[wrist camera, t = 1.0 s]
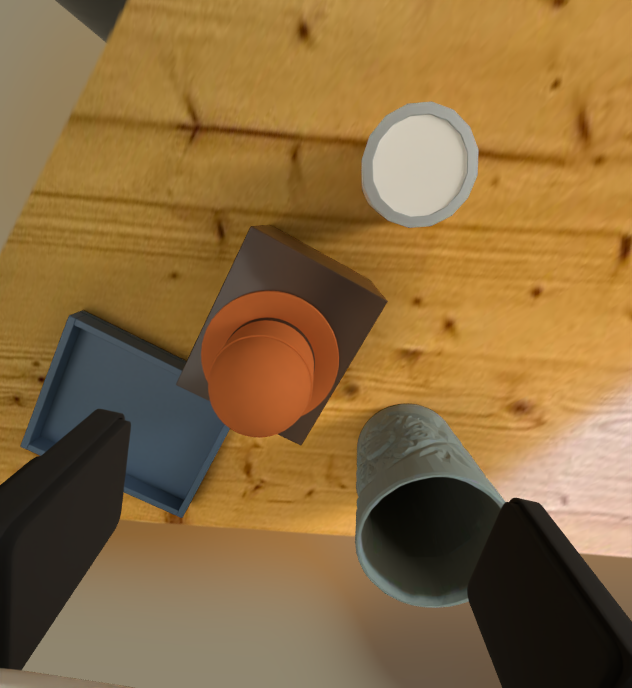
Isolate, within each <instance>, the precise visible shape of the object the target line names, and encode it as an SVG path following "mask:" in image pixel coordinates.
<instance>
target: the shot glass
mask: <svg viewBox="0 0 632 688" xmlns="http://www.w3.org/2000/svg"><path fill="white" fill-rule="evenodd" d="M477 174H478V148H477V145H476V142H475V139H474V137H473V134H472V131H471V128H470V126H469V125H468V124H467V123H466V122H465V121H464V120H463V119H462V118H461V117H460V116H459V115H458V114H457V113H456V112H455V111H454V110H452V109H450V108H447V107H445V106H442V105H439V104H437V103H434V102H422V103H411V104H406V105H405V106H403V107H401V108H399V109H397V110H396V111H394V112H392V113H390V114H388V115H386V116H385V118H384V119H383V120H382V121H381V122H380V124H379V125H378V126H377V127H376V129H375V130H374V131H373V132H372V134H371V135H370V137H369V140H368V143H367V146H366V149H365V152H364V155H363V158H362V172H361V175H362V191H363V193H364V195H365V198H366V200H367V202H368V204H369V205H370V206H371V207H372V208H373V209H374V210H376V211H377V212H378V213H379V214H380V215H381V216H383V217H384V218H386V219H387V220H388V221H391V222H394V223H397V224H400V225H403V226H405V227H408V228H412V227H425V226H432V225H434V224H436V223H438V222H440V221H442V220H444V219H446V218H448V217H450V216H452V215H453V214H454V213H455V211H456V210H457V209H458V208H459V207H460V206H461V205H462V204H463V203H464V202H465V201H466V199H467V198H468V197H469V194H470V192H471V189H472V187H473V184H474V182H475V180H476V177H477Z"/></svg>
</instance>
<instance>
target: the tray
mask: <svg viewBox="0 0 632 688" xmlns="http://www.w3.org/2000/svg"><path fill="white" fill-rule="evenodd" d="M186 362H187V361H185V360H183V359H181V358H179V357H177V356H175V355H173V354H171V353H169V352H167V351H165V350H163V349H161V348H159V347H157V346H155V345H153V344H151V343H149V342H146V341H144V340H142V339H140V338H138V337H136V336H134V335H132V334H130V333H128V332H126V331H124V330H122V329H120V328H118V327H116V326H114V325H112V324H110V323H108V322H106V321H104V320H102V319H100V318H98V317H96V316H94V315H92V314H90V313H88V312H86V311H84V310H82V311H80V312H77V313H74V314H72V315H69V317H68V320H67V322H66V325H65V328H64V330H63V333H62V336H61V338H60V341H59V344H58V346H57V349H56V352H55V355H54V357H53V360H52V363H51V365H50V368H49V371H48V373H47V376H46V379H45V381H44V384H43V387H42V389H41V392H40V395H39V398H38V400H37V403H36V406H35V408H34V411H33V414H32V416H31V419H30V422H29V424H28V427H27V430H26V433H25V435H24V438H23V441H22V443H21V447H22V448H25V449H27V450H29V451H31V452H34V453H36V454H38V455H40V456H41V455H42V454H44V453H45V452H46V451H47V450H48V449H50V448H51V447H52V446H53V445H54V444H56V443H57V442H58V441H59V440H60V439H62V438H63V437H64V436H65V435H66V434H67V433H69V432H70V431H71V430H72V429H73V428H75V427H76V426H77V425H78V424H79V423H81V422H82V421H83V420H84V419H85V418H87V417H88V416H89V415H90V414H91V413H92V412H94V411H95V410H96V409H104V410H109V411H114V412H118V413H123V414H124V416H125V420H126V421H130V422H131V432H130V440H129V449H128V457H127V466H126V475H125V483H124V493H127V494H129V495H131V496H133V497H136V498H138V499H140V500H142V501H145V502H147V503H149V504H151V505H154V506H156V507H158V508H161V509H163V510H165V511H167V512H170V513H172V514H174V515H176V516H178V517H181V518H183V516H184V514H185V512H186V510H187V508H188V506H189V504H190V503H191V501H192V499H193V497H194V495H195V493H196V491H197V489H198V488H199V486H200V484H201V482H202V480H203V478H204V476H205V475H206V473H207V471H208V469H209V467H210V465H211V463H212V461H213V460H214V458H215V456H216V454H217V452H218V450H219V448H220V446H221V445H222V443H223V441H224V439H225V437H226V435H227V433H228V431H229V430H230V428H229V427H227V426H226V425H225V424H224V423H223V422H222V421H221V420H220V419H219V417H218V416H217V415H216V413H215V411H214V409H213V407H212V405H211V402H210V401H208V400H206V399H204V398H202V397H200V396H198V395H196V394H194V393H191V392H189V391H187V390H185V389H183V388H181V387H179V386H177V385H176V383H177V381H178V379H179V376H180V374H181V372H182V370H183V368H184V366H185V364H186Z"/></svg>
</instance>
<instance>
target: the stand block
mask: <svg viewBox="0 0 632 688" xmlns="http://www.w3.org/2000/svg"><path fill="white" fill-rule="evenodd" d="M257 291H279V292H285V293H288V294H291V295H294V296H297V297H299V298H301V299H303V300H305V301H306V302H308V303H309V304H311V305H312V306H313V307H315V308H316V309H317V310H318V311H319V312H320V313H321V314H322V315H323V316H324V318H325V319H326V320H327V322H328V323H329V325H330V327H331V329H332V330H333V333H334V335H335V338H336V341H337V346H338V352H339V367H338V372H337V377H336V379H335V382H334V385H333V387H332V389H331V391H330V392H329V393H328V395H327V396H326V398H325V399H324V400H323V401H322V402H321V403H320V404H319V405H318V406H317V407H316V408H314V409H313V410H312V411H310V412H308V413H307V414H305V415H303V416H301V417H300V418H299V419H298V420H297V421H296V422H295V423H294V424H293V425H292V426H290V427H289V428H288V429H286V430H285V431H283V432H281V433H278V435H280V436H282V437H284V438H286V439H288V440H291V441H293V442H295V443H297V444H299V445H302V444H303V442H304V440H305V439H306V437H307V435H308V433H309V432H310V430H311V428H312V427H313V425H314V423H315V422H316V420H317V418H318V417H319V415H320V413H321V412H322V410H323V408H324V407H325V405H326V403H327V402H328V400H329V398H330V397H331V395H332V393H333V392H334V390H335V388H336V387H337V385H338V383H339V382H340V380H341V378H342V377H343V375H344V373H345V372H346V370H347V368H348V367H349V365H350V363H351V362H352V360H353V358H354V357H355V355H356V353H357V352H358V350H359V348H360V347H361V345H362V343H363V342H364V340H365V338H366V337H367V335H368V333H369V332H370V330H371V328H372V327H373V325H374V323H375V322H376V320H377V318H378V317H379V315H380V313H381V312H382V310H383V308H384V307H385V305H386V303H387V300H386V299H385V297H384V296H383V295H382V294H381V293H380V291H379V290H378V289H377V288H376V287H375V285H374V284H373V283H372V282H371V281H370V280H369V279H367V278H365V277H364V276H362V275H360V274H358V273H356V272H355V271H353V270H351V269H349V268H347V267H346V266H344V265H342V264H340V263H338V262H337V261H335V260H333V259H331V258H329V257H328V256H326V255H324V254H322V253H320V252H319V251H317V250H315V249H313V248H311V247H309V246H308V245H306V244H304V243H302V242H300V241H299V240H297V239H295V238H293V237H291V236H290V235H288V234H286V233H284V232H282V231H281V230H279V229H277V228H275V227H273V226H272V225H262V226H251V227H250V229H249V231H248V233H247V235H246V237H245V239H244V241H243V244H242V246H241V248H240V250H239V252H238V254H237V256H236V258H235V260H234V263H233V265H232V267H231V269H230V271H229V273H228V275H227V277H226V279H225V282H224V284H223V286H222V288H221V290H220V292H219V294H218V296H217V298H216V301H215V303H214V305H213V307H212V309H211V311H210V313H209V315H208V317H207V320H206V322H205V324H204V326H203V328H202V330H201V332H200V334H199V336H198V339H197V341H196V343H195V345H194V347H193V349H192V351H191V353H190V355H189V357H188V360H187V362H186V364H185V366H184V368H183V370H182V372H181V374H180V376H179V379H178V381H177V383H176V385H177V386H179V387H181V388H183V389H185V390H187V391H189V392H191V393H194V394H196V395H198V396H200V397H202V398H204V399H206V400H208V401H210V398H209V393H208V382H207V380H206V378H205V375H204V372H203V367H202V362H201V349H202V342H203V338H204V334H205V332H206V329H207V327H208V325H209V324H210V322H211V320H212V319H213V318H214V316H215V315H216V314H217V313H218V312H219V311H220V310H221V309H222V308H223V307H224V306H225V305H227V304H228V303H229V302H231V301H232V300H234V299H236V298H238V297H240V296H243V295H245V294H248V293H252V292H257Z"/></svg>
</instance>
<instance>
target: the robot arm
mask: <svg viewBox="0 0 632 688" xmlns="http://www.w3.org/2000/svg"><path fill="white" fill-rule="evenodd" d="M130 432H131V422H130V421H126V420H125V416H124V414H123V413H118V412H114V411H109V410H104V409H96V410H95V411H94V412H92V413H91V414H90V415H89V416H88V417H87V418H85V419H84V420H83V421H82V422H81V423H79V424H78V425H77V426H76V427H75V428H73V429H72V430H71V431H70V432H69V433H67V434H66V435H65V436H64V437H63V438H62V439H60V440H59V441H58V442H57V443H56V444H54V445H53V446H52V447H51V448H50V449H48V450H47V451H46V452H45V453H44V454H42V455H41V456H39V457H35V458H34V459H32V460H30V461H29V462H28V463H27V464H25V465H24V466H23V467H22V468H21V469H19V470H18V471H17V472H16V473H15V474H13V475H12V476H11V477H10V478H8V479H7V480H6V481H5V482H4V483H2V484H1V485H0V688H133V687H127V686H121V685H115V684H109V683H102V682H95V681H89V680H82V679H75V678H68V677H62V676H55V675H49V674H42V673H35V672H29V671H22V668H23V667H24V665H25V664H26V662H27V661H28V659H29V658H30V656H31V655H32V653H33V652H34V650H35V649H36V647H37V646H38V644H39V643H40V641H41V640H42V638H43V637H44V635H45V634H46V632H47V631H48V629H49V628H50V626H51V625H52V623H53V622H54V620H55V619H56V617H57V616H58V614H59V613H60V611H61V610H62V608H63V607H64V605H65V604H66V602H67V601H68V599H69V598H70V596H71V595H72V593H73V592H74V590H75V589H76V587H77V586H78V584H79V583H80V581H81V580H82V578H83V577H84V575H85V574H86V572H87V571H88V569H89V568H90V566H91V565H92V563H93V562H94V560H95V559H96V557H97V556H98V554H99V553H100V551H101V550H102V548H103V547H104V545H105V544H106V542H107V541H108V539H109V538H110V536H111V535H112V533H113V532H114V530H115V529H116V526H117V524H118V522H119V519H120V515H121V509H122V500H123V492H124V483H125V475H126V466H127V457H128V449H129V440H130ZM467 596H468V600H469V603H470V606H471V608H472V611H473V613H474V616H475V618H476V621H477V624H478V626H479V629H480V631H481V634H482V637H483V639H484V642H485V644H486V647H487V649H488V652H489V655H490V657H491V659H492V662H493V665H494V667H495V670H496V673H497V675H498V678H499V680H500V683H501V685H502V688H632V621H631V620H630V619H629V617H628V616H627V615H626V614H625V612H624V611H623V610H622V608H621V607H620V606H619V605H618V603H617V602H616V601H615V599H614V598H613V597H612V596H611V594H610V593H609V592H608V590H607V589H606V588H605V587H604V585H603V584H602V583H601V582H600V580H599V579H598V578H597V576H596V575H595V574H594V572H593V571H592V570H591V568H590V567H589V566H588V565H587V563H586V562H585V561H584V559H583V558H582V557H581V556H580V554H579V553H578V552H577V550H576V549H575V548H574V547H573V545H572V544H571V543H570V541H569V540H568V539H567V537H566V536H565V535H564V534H563V532H562V531H561V530H560V528H559V527H558V526H557V525H556V523H555V522H554V521H553V519H552V518H551V517H550V516H549V514H548V513H547V512H546V510H545V509H544V508H543V507H542V505H540V504H539V503H537V502H533V501H529V500H524V499H519V498H513V499H511V500H510V501H509V502H506V503H504V504H503V506H502V508H501V510H500V512H499V514H498V517H497V519H496V521H495V524H494V526H493V528H492V530H491V533H490V535H489V537H488V539H487V542H486V544H485V546H484V549H483V551H482V553H481V555H480V558H479V560H478V562H477V564H476V567H475V569H474V571H473V574H472V576H471V578H470V580H469V583H468V587H467Z"/></svg>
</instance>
